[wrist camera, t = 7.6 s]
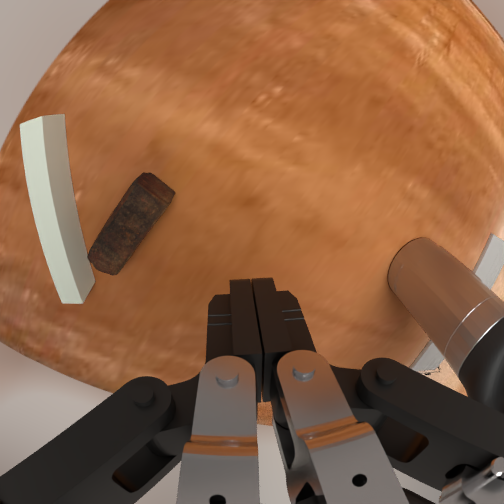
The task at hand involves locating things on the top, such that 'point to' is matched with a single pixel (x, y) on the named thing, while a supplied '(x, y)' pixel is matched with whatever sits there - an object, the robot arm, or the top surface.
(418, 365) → the baseboard molding
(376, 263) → the top surface
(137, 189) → the brick
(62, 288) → the board
